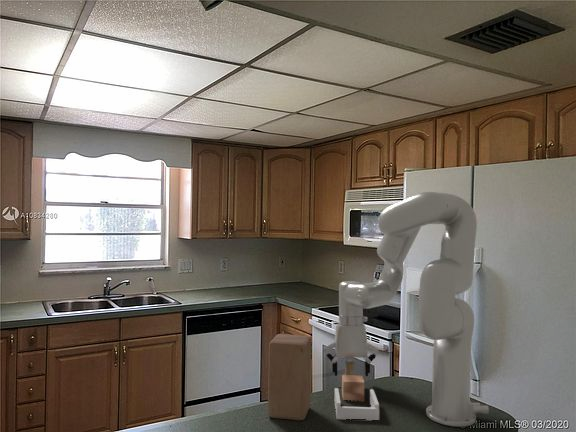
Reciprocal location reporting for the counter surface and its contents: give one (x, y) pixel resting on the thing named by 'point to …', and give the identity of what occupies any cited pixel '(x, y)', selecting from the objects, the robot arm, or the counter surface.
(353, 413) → the white u-shaped bracket
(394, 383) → the counter surface
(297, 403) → the wooden block
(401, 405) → the counter surface
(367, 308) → the robot arm
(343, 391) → the block
